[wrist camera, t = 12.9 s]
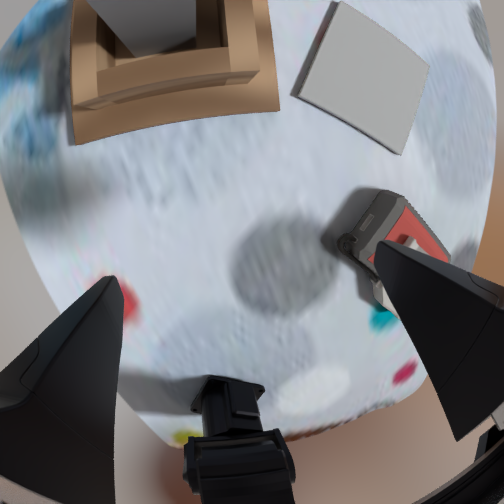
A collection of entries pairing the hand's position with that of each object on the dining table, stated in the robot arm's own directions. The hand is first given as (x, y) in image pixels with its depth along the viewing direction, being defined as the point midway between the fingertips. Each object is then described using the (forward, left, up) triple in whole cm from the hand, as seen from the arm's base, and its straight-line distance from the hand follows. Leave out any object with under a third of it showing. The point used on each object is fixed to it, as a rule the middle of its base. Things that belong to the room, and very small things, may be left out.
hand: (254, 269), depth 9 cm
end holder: (+9, +9, -12) cm, 17 cm away
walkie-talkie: (+1, -20, -12) cm, 23 cm away
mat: (+14, -6, -12) cm, 19 cm away
